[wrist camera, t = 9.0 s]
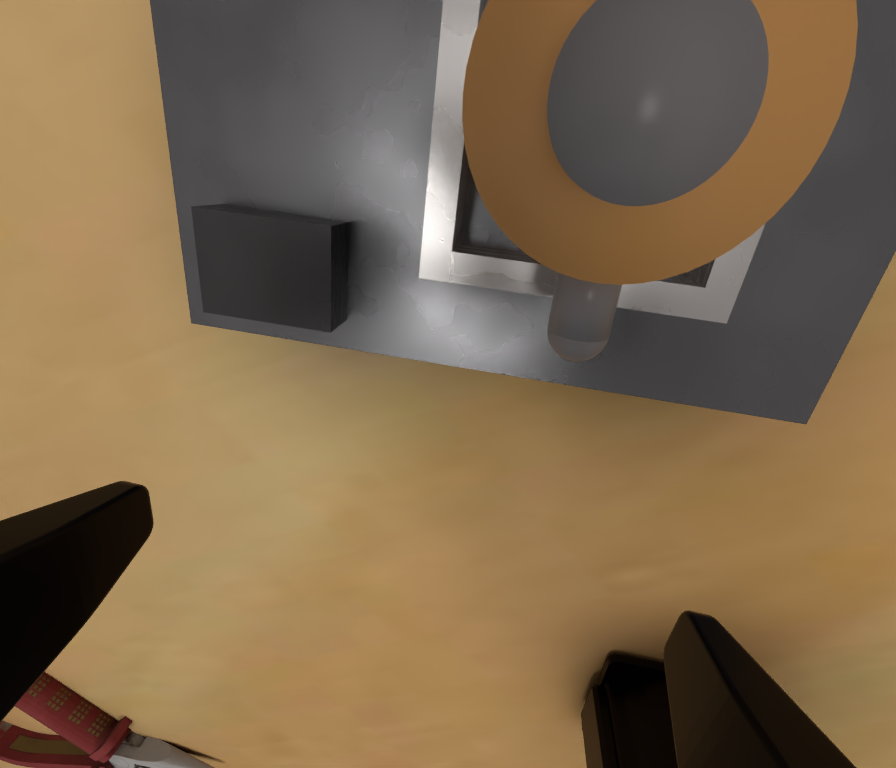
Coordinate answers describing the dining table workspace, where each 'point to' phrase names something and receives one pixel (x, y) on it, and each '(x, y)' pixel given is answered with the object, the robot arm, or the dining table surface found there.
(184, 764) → the pliers
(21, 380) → the dining table surface
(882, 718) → the dining table surface
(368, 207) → the sink basin plate
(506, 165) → the cylinder
